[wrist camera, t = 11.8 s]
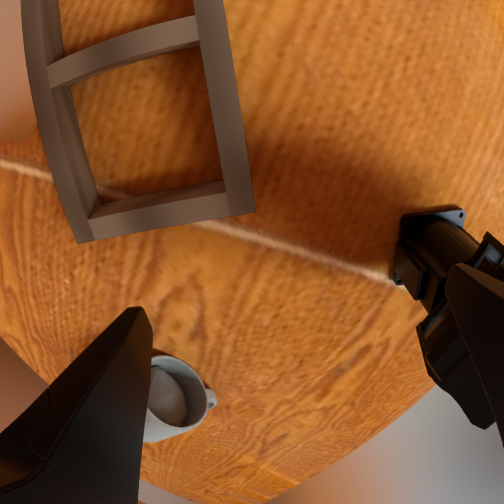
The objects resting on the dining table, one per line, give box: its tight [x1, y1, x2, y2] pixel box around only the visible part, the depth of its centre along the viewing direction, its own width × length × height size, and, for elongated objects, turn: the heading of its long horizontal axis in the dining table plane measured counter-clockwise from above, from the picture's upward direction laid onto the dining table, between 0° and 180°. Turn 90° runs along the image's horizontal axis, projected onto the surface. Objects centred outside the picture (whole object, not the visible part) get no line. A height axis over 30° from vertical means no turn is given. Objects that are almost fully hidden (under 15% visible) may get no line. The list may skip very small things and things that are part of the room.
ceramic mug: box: [143, 355, 217, 442], centre depth 27 cm, size 11×8×8 cm
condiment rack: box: [21, 0, 256, 244], centre depth 14 cm, size 12×22×2 cm, turn 8°
